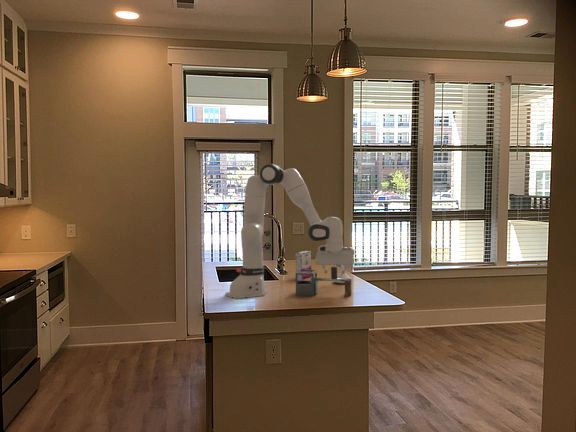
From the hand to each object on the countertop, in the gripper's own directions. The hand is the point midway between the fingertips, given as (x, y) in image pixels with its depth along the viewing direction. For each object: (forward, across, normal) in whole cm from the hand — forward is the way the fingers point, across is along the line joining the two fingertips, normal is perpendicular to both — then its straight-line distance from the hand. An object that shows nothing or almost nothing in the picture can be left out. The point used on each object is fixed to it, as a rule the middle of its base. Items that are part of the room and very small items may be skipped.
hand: (334, 273), depth 265 cm
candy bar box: (+12, +26, -47) cm, 55 cm away
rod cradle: (+11, -7, 0) cm, 13 cm away
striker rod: (+11, +3, 0) cm, 11 cm away
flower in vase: (+12, 0, -33) cm, 35 cm away
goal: (+11, +15, 0) cm, 19 cm away
